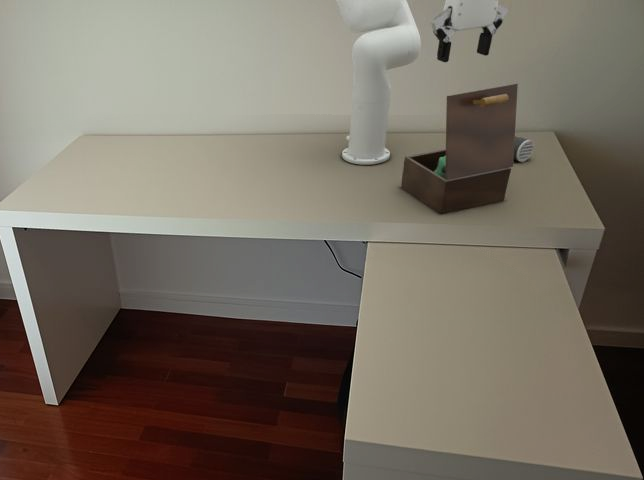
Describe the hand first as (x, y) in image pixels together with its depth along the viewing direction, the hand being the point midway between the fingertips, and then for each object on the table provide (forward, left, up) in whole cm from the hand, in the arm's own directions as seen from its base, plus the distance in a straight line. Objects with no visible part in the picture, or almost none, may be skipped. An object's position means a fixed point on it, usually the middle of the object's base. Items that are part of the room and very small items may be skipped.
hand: (462, 57), depth 138 cm
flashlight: (-13, +27, -30) cm, 43 cm away
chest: (+3, +1, -30) cm, 30 cm away
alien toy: (+2, +1, -30) cm, 30 cm away
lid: (+9, +1, -14) cm, 16 cm away
